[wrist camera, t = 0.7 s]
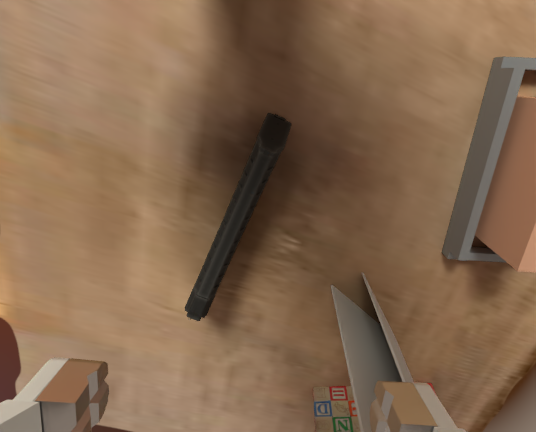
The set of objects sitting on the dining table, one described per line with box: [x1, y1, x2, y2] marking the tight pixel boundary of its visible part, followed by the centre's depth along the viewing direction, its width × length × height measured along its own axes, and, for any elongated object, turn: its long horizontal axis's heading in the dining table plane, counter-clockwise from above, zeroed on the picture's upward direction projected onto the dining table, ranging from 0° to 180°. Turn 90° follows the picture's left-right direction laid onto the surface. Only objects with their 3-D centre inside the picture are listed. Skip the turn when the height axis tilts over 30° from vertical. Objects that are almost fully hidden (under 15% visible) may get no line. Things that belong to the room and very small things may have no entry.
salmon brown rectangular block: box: [475, 96, 536, 272], centre depth 40 cm, size 18×4×12 cm, turn 178°
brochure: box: [331, 273, 414, 432], centre depth 41 cm, size 14×6×30 cm, turn 28°
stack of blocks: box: [313, 383, 439, 432], centre depth 57 cm, size 21×6×12 cm, turn 97°
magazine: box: [185, 113, 291, 321], centre depth 45 cm, size 17×3×30 cm
